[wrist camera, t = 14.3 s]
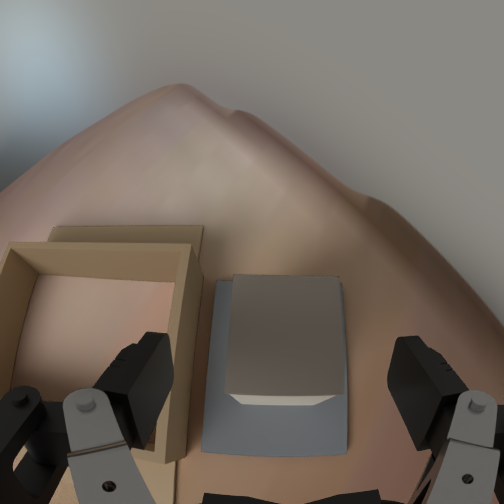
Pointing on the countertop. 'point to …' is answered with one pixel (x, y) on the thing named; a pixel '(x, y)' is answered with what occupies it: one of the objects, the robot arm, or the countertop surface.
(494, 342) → the countertop surface
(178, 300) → the carton
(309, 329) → the tea box
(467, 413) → the robot arm
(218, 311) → the slate mat
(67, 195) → the countertop surface
